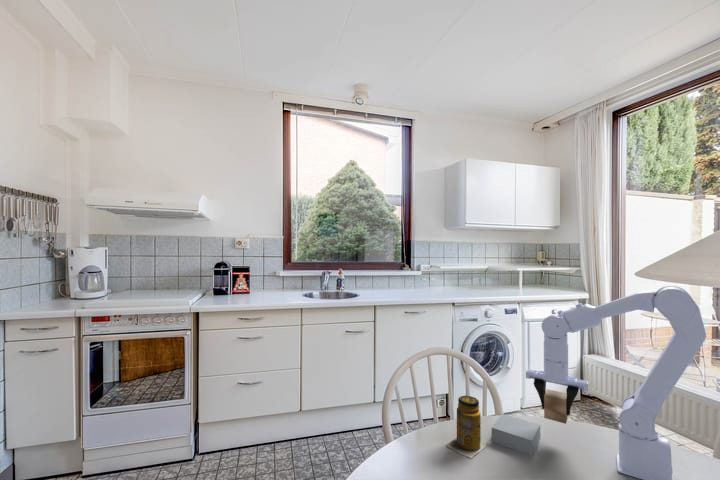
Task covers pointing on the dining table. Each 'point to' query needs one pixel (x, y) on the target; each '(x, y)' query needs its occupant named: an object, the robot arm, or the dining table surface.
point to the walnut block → (555, 406)
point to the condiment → (468, 428)
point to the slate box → (516, 433)
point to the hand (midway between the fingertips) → (556, 410)
